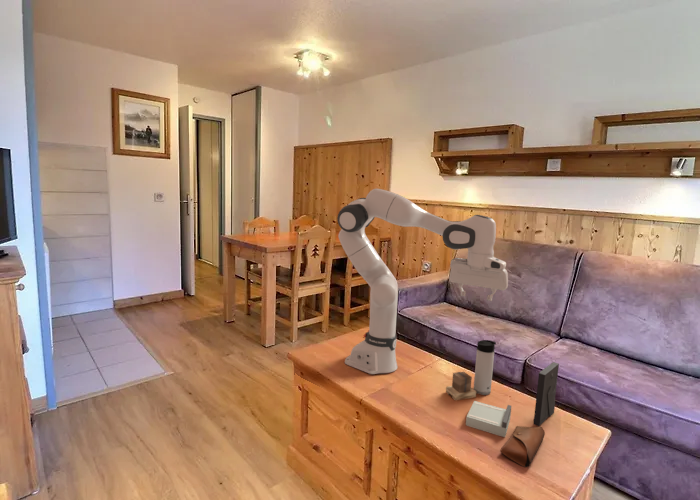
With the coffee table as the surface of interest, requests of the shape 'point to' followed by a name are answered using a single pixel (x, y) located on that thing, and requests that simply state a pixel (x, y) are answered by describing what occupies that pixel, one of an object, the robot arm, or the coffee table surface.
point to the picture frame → (546, 393)
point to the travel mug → (484, 367)
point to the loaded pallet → (461, 387)
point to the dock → (489, 418)
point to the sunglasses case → (523, 444)
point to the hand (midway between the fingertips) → (476, 298)
